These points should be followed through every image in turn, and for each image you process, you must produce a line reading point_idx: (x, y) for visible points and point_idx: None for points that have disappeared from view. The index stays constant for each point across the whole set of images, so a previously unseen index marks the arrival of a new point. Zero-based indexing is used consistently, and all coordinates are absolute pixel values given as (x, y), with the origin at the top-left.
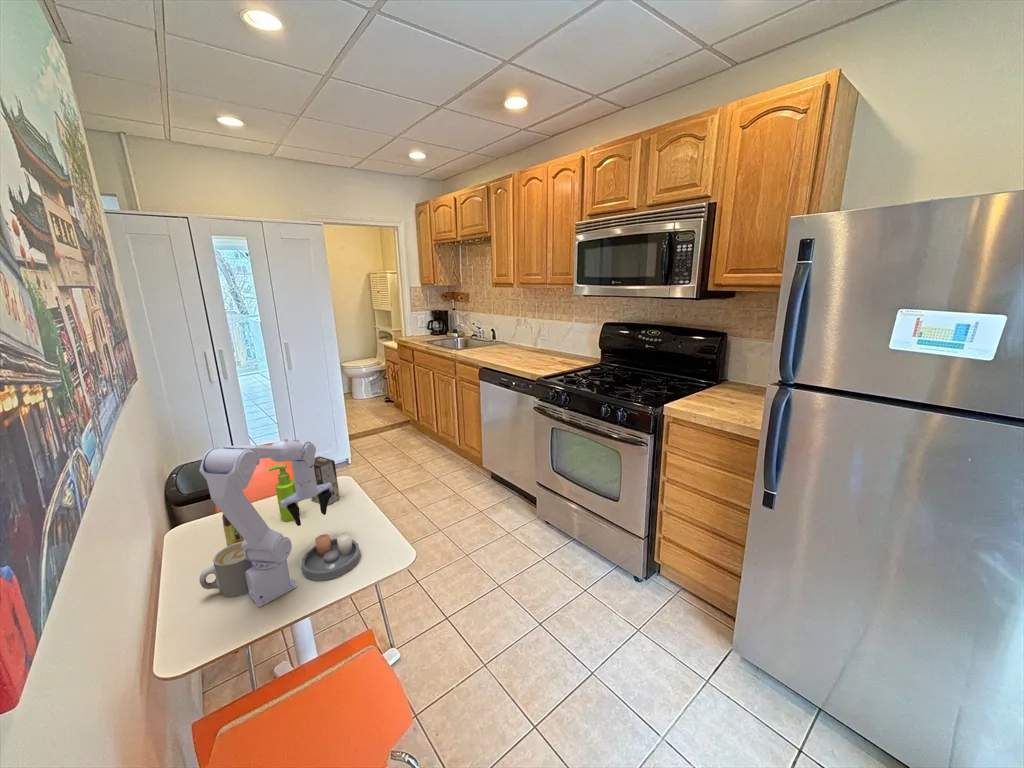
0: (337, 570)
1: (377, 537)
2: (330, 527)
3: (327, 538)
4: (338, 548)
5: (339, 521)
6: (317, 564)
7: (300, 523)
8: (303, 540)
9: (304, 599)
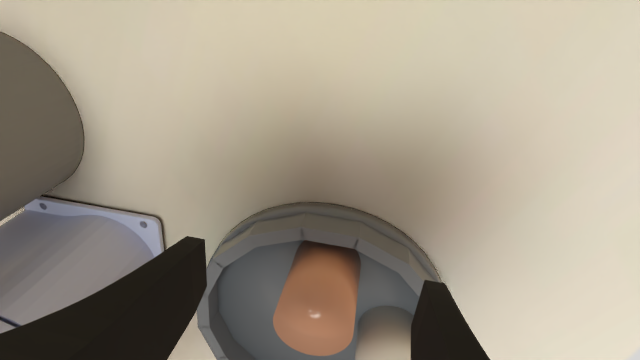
0: None
1: (555, 346)
2: (532, 51)
3: (328, 348)
4: (357, 344)
5: (630, 36)
6: (263, 296)
7: (195, 304)
8: (334, 32)
9: (172, 356)
